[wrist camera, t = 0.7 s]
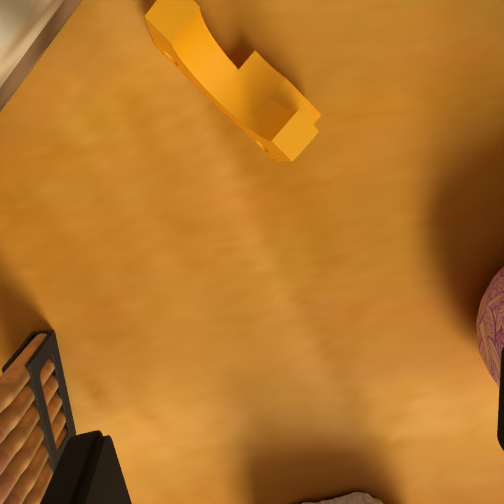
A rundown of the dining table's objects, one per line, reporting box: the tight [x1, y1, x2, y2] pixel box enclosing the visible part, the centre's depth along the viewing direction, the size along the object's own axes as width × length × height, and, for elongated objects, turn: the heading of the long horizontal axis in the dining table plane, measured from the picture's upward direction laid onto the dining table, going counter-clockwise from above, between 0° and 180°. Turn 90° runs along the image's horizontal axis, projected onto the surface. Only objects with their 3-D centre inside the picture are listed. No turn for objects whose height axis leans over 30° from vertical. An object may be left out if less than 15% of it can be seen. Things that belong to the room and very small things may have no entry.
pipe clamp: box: [144, 0, 321, 162], centre depth 26 cm, size 12×4×6 cm, turn 48°
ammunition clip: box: [0, 330, 76, 504], centre depth 27 cm, size 11×2×12 cm, turn 3°
